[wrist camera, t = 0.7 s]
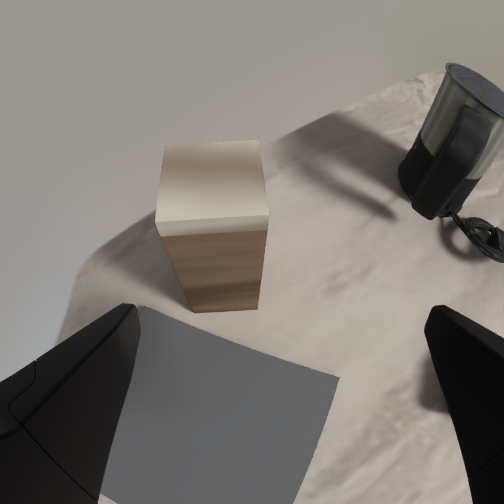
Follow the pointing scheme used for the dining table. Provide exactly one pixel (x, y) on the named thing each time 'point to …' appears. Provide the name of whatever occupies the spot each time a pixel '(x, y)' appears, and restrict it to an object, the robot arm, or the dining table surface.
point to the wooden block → (215, 222)
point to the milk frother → (457, 152)
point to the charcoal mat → (213, 421)
